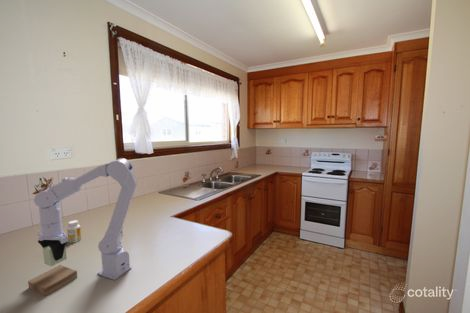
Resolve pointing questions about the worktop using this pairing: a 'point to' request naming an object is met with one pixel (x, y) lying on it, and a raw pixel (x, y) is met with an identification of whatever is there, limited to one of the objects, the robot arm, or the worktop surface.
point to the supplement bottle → (73, 231)
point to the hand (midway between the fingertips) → (55, 257)
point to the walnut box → (52, 280)
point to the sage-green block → (50, 258)
